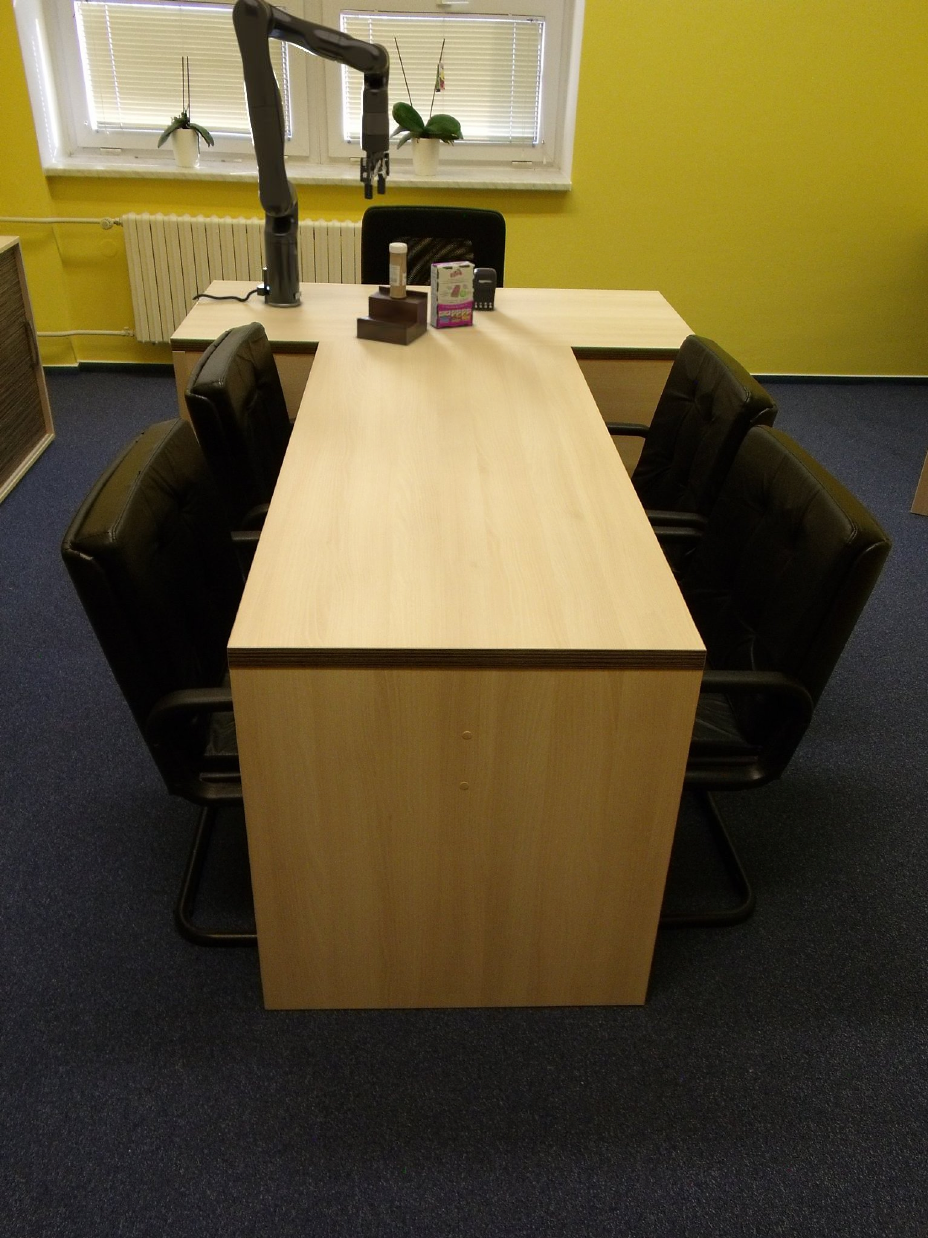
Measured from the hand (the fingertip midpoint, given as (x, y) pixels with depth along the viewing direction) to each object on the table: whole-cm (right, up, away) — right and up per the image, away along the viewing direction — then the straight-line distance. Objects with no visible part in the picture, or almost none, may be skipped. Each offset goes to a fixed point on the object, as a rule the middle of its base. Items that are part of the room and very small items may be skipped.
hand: (375, 196), depth 274 cm
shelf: (+5, -38, -4) cm, 39 cm away
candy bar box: (+20, -33, +6) cm, 40 cm away
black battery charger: (+30, -25, +20) cm, 44 cm away
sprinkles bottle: (+7, -29, -6) cm, 31 cm away
